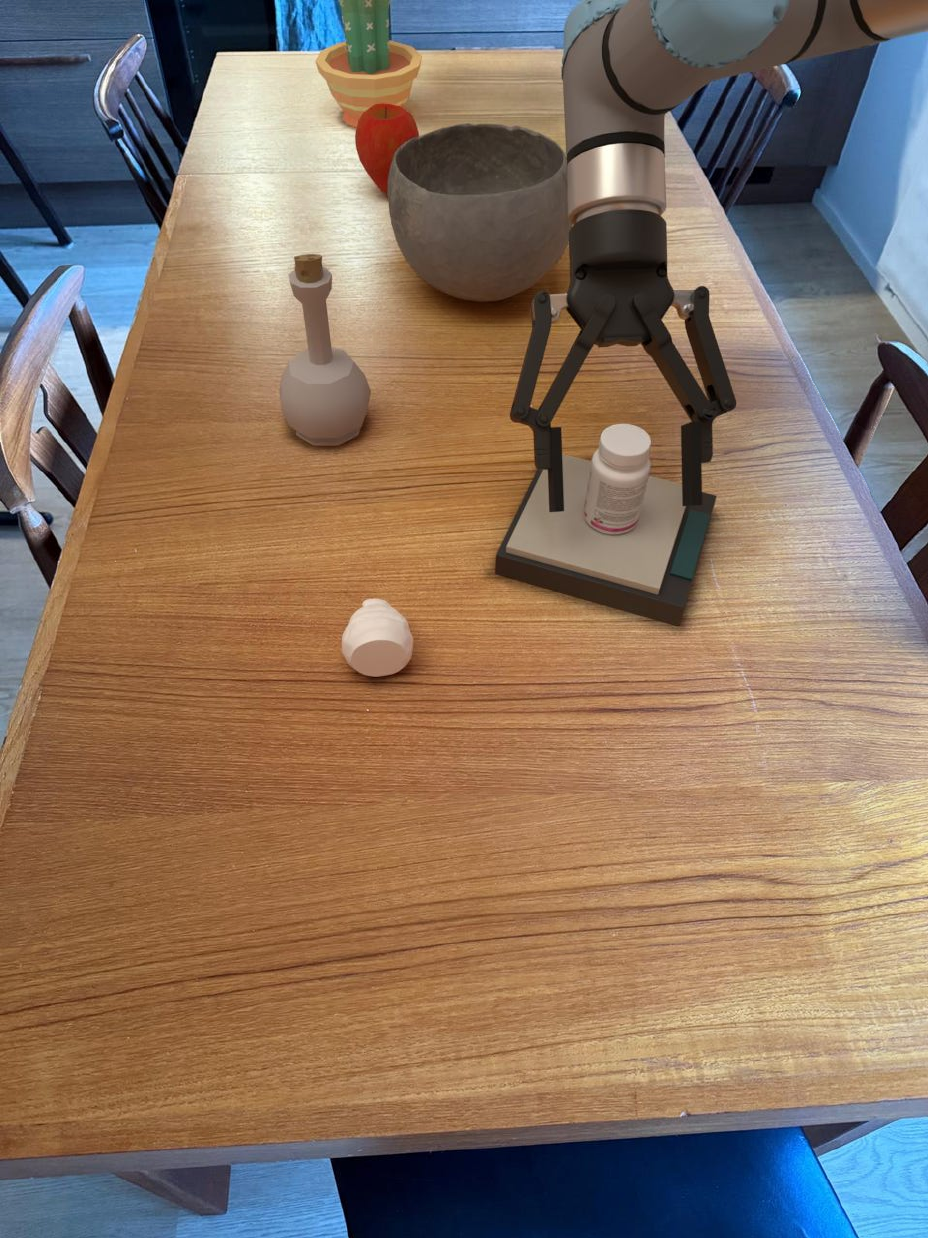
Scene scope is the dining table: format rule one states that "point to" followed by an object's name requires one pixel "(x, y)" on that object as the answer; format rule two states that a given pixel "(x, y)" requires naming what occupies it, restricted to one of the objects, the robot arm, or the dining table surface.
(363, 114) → the apple
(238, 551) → the dining table surface
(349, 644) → the garlic bulb
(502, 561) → the scale
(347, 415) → the potion bottle
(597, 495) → the pill bottle
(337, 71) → the potted cactus
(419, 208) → the bowl
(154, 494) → the dining table surface
